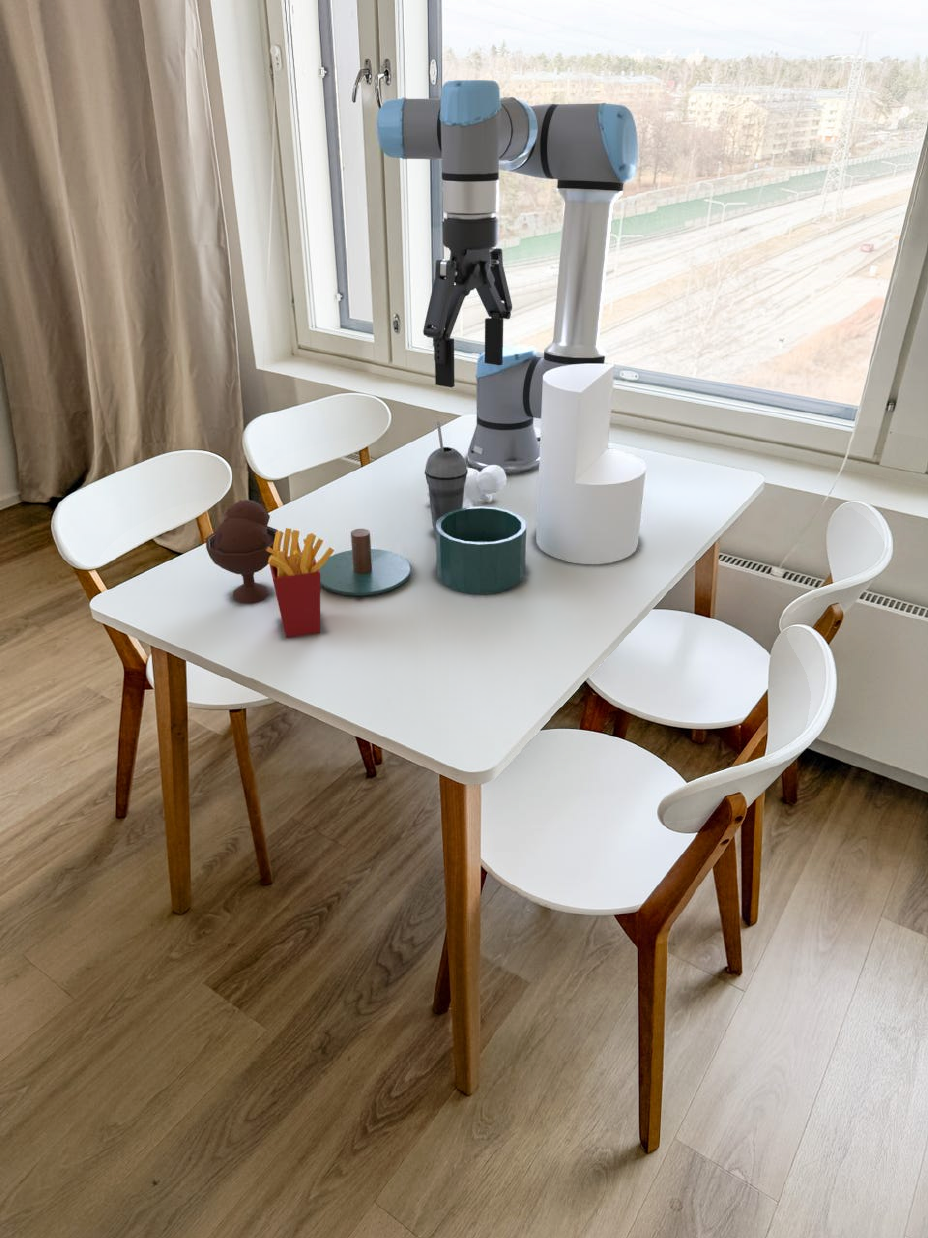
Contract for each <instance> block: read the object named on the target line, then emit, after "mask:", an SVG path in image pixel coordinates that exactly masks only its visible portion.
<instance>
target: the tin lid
mask: <svg viewBox="0 0 928 1238" xmlns="http://www.w3.org/2000/svg"><path fill="white" fill-rule="evenodd" d="M371 541H372V539H371V531H370V530H369V529H367V528H356V529H353V530H351V531H350V542H351V543H350V544H351V549H350V550H346V551H341V552H338V553H335V554H333V555H331V556H330V557H329V558H328V560H327V561H326V562H325V563H324V564H323V565H322V566H321V567H320V568H319V571H320V587H323V588H324V589H325V590H328V591H330V592H333V593H337V594H341V595H348V596H369V595H377V594H380V593H385V592H388V591H391V590H393V589H396V588H398V587H399V586H401V585H402V584H404V583H405V582H406V581H407V580H408V578H409V577H410V575H411V566H410V563H409V561H408V560H407V559H406V558H404V557H403V556H402V555H400V554H397V553H396V552H393V551H389V550H386V549H385V550H384V549H377V548H372V542H371Z"/></svg>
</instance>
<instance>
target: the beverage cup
mask: <svg viewBox="0 0 928 1238" xmlns="http://www.w3.org/2000/svg"><path fill="white" fill-rule="evenodd" d="M436 427H437V434H438V441H439V448H437V449H435V450H434V451H432V453H431V454H429V456H428V458H427V461H426V463H425V469H424V475H425V480H426V484H427V488H428V491H429V496H428V498H429V497H430V501H429V505H430V513H431V521H432V522H431V523H432V527H433V532H434V533H433V535H434V537H436V521H437V520H438V519H439V518H440V517H441V516H442V515H444V514H446V513H448V512H451V511H453V510H457V509H461V508H463V496H464V485H465V482H466V476H467V473H468V470H467V468H468V467H467V466H468V465H467V462H466V459H465V458H464V456H463V454H461V452H460V451H458V450H457V449H455V448H453V447H449V446H444V444H443V443H444V442H443V436H442V429H441V422H440V421H436Z"/></svg>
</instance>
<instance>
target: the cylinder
mask: <svg viewBox="0 0 928 1238" xmlns="http://www.w3.org/2000/svg"><path fill="white" fill-rule="evenodd" d="M615 366H616V365H615V364H612V363H611V364H610V363H607V364H573V365H567V366H561V367H557V368H554V369H551V370H549V371H547V372H546V373H545V374H544V375H543V387H542V411H541V418H540V442H539V448H540V460H539V466H538V485H537V487H538V489H537V507H536V509H537V511H536V535H535V536H536V539H535V541H536V545H537V546H538V547H539V549H540V550H541V551H542V552H544V553H545V554H547V555H548V556H550V557H552V558H555V559H557V560H561V561H564V562H568V563H574V564H581V565H602V564H603V565H604V564H610V563H615V562H618V561H623V560H624V559H626V558H628V557H631V556H632V554H634V553H635V552H636V551H637V548H638V544H639V537H640V535H639V534H640V528H641V527H640V525H641V517H642V507H643V499H644V498H643V497H644V491H645V489H644V488H645V480H646V470H647V466H646V464H645V462H644V461H643V460H642V459H641V458H639V457H638V456H636V455H633V454H632V453H629V452H627V451H623V450H621V449H614V448H609V441H610V427H611V418H612V417H611V416H612V405H613V392H614V379H615V369H616V368H615Z"/></svg>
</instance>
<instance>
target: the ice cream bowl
mask: <svg viewBox="0 0 928 1238" xmlns="http://www.w3.org/2000/svg"><path fill="white" fill-rule="evenodd" d="M270 518H271V515H270V514H269V512H268V511H267V510H266V508H264V506H262V504H261V503H260V502H257V501H255V500H252V499H251V500H250V499H244V500H243V499H242V500H241V499H240V500H238V501H236V502H235V503H233V504H232V505H230V506H229V507H228V509H227V510H226V518H224V520H223V521H222V522H221V523H220V524H219V525H218V526H217V527H216V528H217V529H216V530H215V531H214V532H212V533H211V534H210V535H208V536H207V537H206V538H205V549H206V552H207V554H208V556H209V558H210V559H211V561H212V562H213V564H215V565H217V567H220V568H221V569H223V570H225V571H227V572H229V573H232V574H235V575H240V576H241V577H242V583H243V584H241V585H239V586H238V587H237V588H235V589H234V590H233V592H232V599H233V601H235V602H238V603H239V604H240V603H241V604H254V603H258V602H260V601H261V602H262V601H264V600H265V599H267V597H268V596H269V595H270V594H269V593H270V592H269V589H268V587H267V586H266V585H263V584H261V583H258V582H255V581H256V580H255V574H256V573H258V572H260V571H262V570H263V569H265V567H266V566H268V565H269V564H268V560H269V557H270V556H271V555H273V554H272V553H270V552H268V551H266V550H267V548H268V547H270V548H271V549H273V545H274V539H275V535H276V531H279V529H277V528H275V527H271V526H269V521H270V520H271V519H270Z"/></svg>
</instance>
